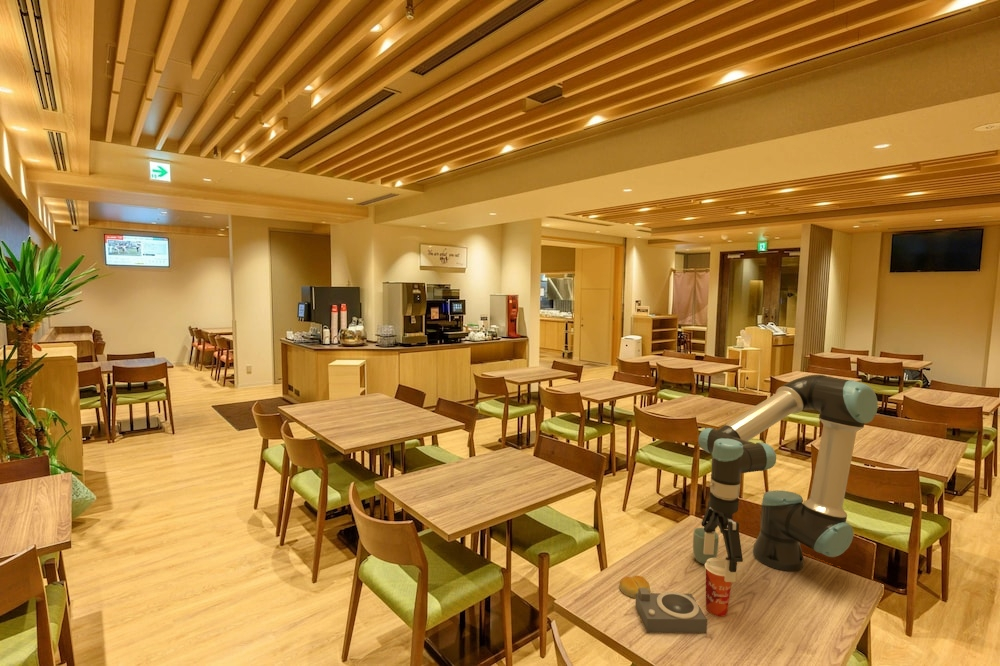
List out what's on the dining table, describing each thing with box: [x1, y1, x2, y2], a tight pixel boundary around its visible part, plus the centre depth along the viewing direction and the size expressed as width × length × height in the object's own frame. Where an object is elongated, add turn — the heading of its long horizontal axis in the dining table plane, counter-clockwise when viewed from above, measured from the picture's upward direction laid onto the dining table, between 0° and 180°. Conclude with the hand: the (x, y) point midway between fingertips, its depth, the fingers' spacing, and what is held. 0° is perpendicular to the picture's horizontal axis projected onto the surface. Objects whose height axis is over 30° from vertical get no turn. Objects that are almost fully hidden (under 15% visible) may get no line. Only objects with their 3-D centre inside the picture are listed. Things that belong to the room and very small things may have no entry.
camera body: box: [634, 588, 708, 634], centre depth 138 cm, size 16×11×6 cm
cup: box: [692, 527, 720, 565], centre depth 167 cm, size 8×8×10 cm
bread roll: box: [619, 574, 652, 599], centre depth 151 cm, size 8×9×4 cm
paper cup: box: [704, 557, 732, 617], centre depth 142 cm, size 8×8×14 cm
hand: (718, 567), depth 141 cm, fingers open, 13 cm apart
